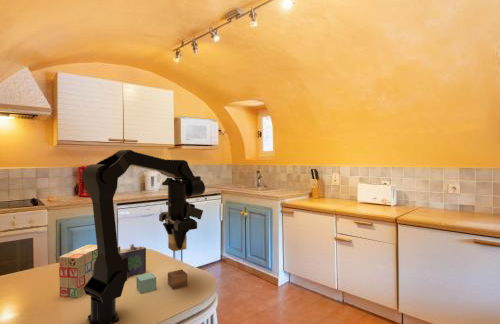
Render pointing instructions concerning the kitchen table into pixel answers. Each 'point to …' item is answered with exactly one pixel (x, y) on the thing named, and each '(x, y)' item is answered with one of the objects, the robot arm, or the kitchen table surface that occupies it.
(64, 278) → the stack of blocks
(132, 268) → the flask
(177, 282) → the walnut block
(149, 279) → the tower base
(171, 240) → the oak cube
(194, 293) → the kitchen table surface
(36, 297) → the kitchen table surface
